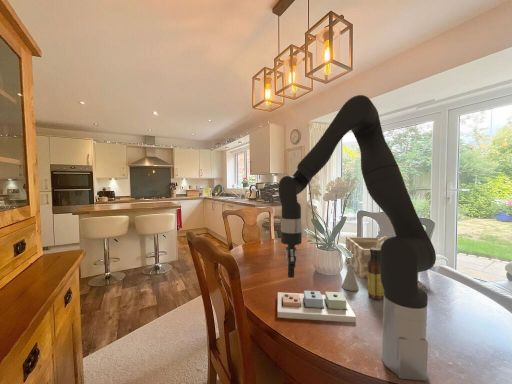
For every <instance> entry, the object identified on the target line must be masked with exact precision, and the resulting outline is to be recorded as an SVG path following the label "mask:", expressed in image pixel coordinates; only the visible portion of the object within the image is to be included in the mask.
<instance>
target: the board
mask: <svg viewBox="0 0 512 384" xmlns="http://www.w3.org/2000/svg"><path fill="white" fill-rule="evenodd" d="M283 294H296V295H299V299H300V308H298V307H283ZM321 295H322V298H323V308H316V307H305V301H304V293H301V292H300V293H296V292H282V291H281V292H280V291H278V292H277V318H281V319H283V318H284V319H295V320H311V321H323V322H324V321H326V322H341V323H343V322H344V323H357V315H355V312H354V311H353V309H352V307H351V305H350V304H349V302H348V301H347V299H346V309H332V308H328V306H327V303H326V300H325V294H321Z"/></svg>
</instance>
